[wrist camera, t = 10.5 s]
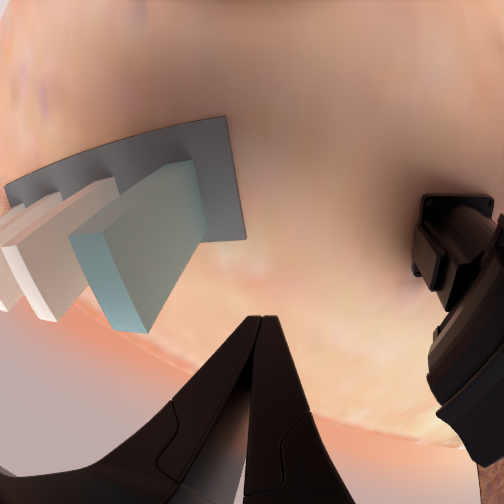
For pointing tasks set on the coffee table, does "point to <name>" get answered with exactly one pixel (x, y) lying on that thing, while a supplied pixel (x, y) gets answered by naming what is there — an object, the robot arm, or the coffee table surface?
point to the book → (492, 483)
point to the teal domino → (142, 245)
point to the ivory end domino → (11, 213)
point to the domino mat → (151, 171)
